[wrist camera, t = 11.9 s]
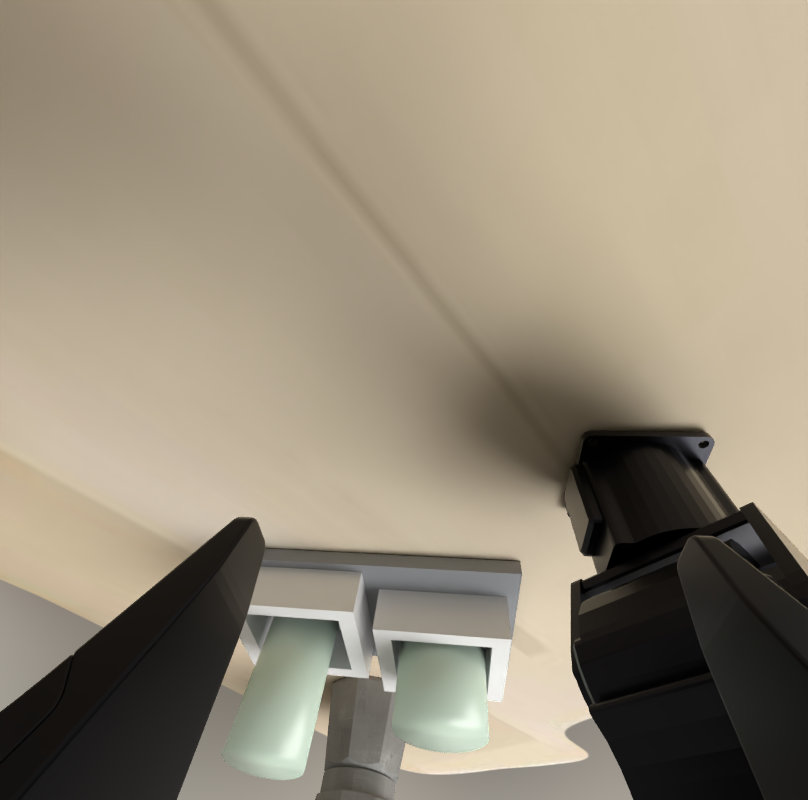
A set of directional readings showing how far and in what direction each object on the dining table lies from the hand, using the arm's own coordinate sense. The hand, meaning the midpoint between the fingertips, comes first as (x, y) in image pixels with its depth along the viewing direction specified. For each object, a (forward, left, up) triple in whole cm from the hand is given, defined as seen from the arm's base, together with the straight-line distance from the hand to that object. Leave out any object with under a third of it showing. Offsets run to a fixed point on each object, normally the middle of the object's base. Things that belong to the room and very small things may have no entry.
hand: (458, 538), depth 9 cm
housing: (+6, +25, -13) cm, 29 cm away
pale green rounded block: (+11, +24, -12) cm, 29 cm away
